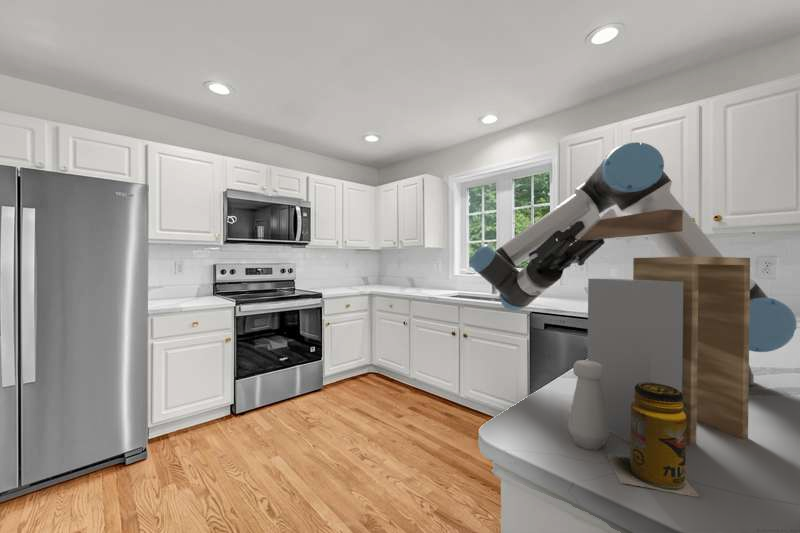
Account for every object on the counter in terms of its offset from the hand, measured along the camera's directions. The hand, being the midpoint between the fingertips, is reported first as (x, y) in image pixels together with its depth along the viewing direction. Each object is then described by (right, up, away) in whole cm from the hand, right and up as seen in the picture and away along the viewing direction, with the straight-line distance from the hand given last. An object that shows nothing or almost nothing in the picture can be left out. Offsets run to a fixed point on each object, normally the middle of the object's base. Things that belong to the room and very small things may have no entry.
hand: (605, 214), depth 67 cm
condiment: (-5, -38, -18) cm, 43 cm away
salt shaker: (-9, -38, -10) cm, 40 cm away
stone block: (+1, -38, -6) cm, 39 cm away
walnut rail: (+1, -4, -3) cm, 5 cm away
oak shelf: (+12, -38, -3) cm, 40 cm away
